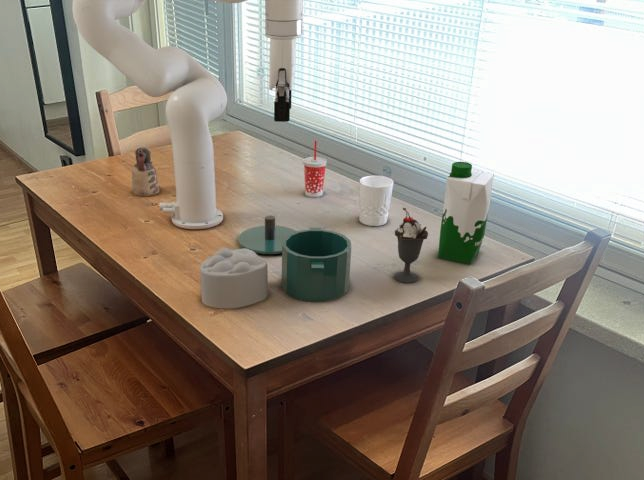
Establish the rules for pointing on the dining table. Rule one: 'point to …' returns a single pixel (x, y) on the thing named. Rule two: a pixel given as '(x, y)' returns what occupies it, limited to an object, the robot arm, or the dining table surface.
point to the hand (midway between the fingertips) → (282, 114)
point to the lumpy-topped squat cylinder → (233, 279)
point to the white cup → (374, 199)
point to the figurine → (144, 174)
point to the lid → (265, 237)
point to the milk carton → (464, 213)
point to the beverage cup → (314, 174)
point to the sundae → (409, 246)
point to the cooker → (315, 264)
